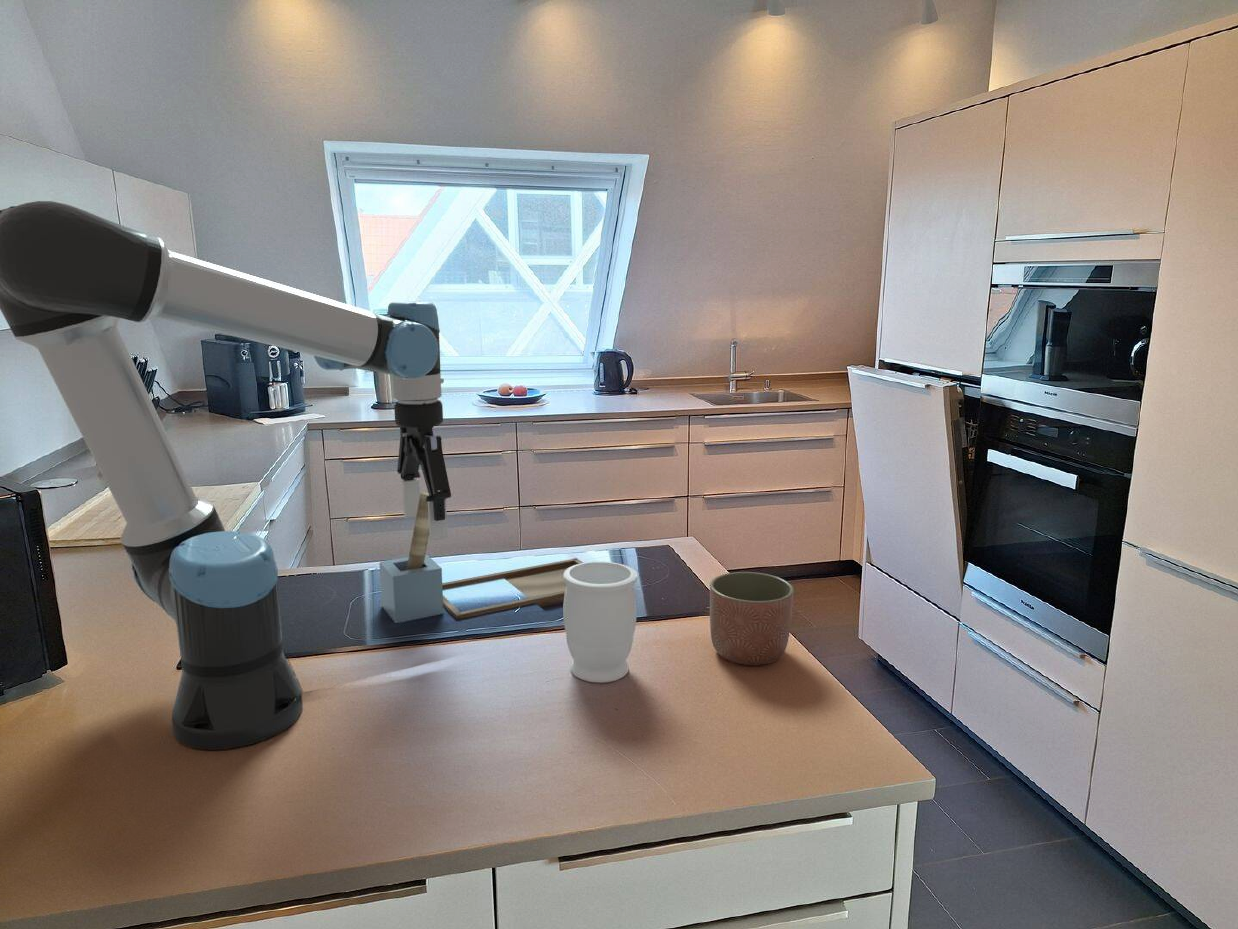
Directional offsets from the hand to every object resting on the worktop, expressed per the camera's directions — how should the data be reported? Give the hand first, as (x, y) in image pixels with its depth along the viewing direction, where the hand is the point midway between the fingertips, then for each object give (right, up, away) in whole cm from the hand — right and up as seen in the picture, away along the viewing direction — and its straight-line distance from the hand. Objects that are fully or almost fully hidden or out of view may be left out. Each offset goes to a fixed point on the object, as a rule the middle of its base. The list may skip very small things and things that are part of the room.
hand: (425, 527), depth 135 cm
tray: (+15, -13, +12) cm, 23 cm away
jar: (+29, -20, -16) cm, 39 cm away
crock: (-2, -15, +2) cm, 15 cm away
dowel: (-1, -14, +2) cm, 14 cm away
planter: (+52, -19, -11) cm, 56 cm away
